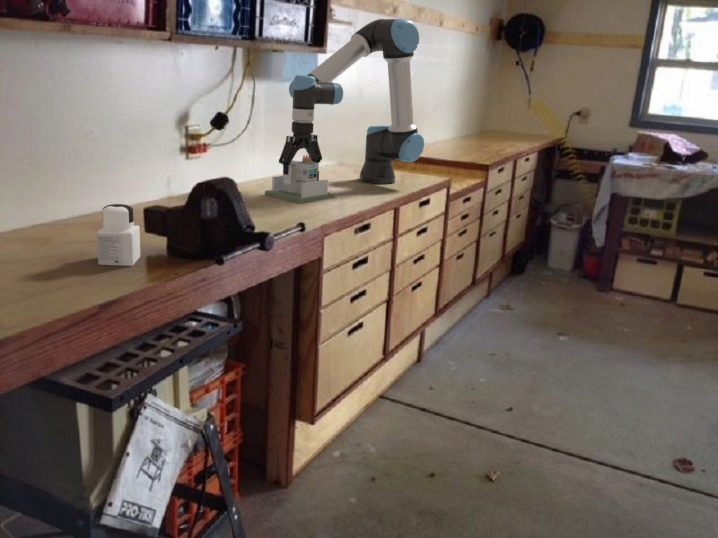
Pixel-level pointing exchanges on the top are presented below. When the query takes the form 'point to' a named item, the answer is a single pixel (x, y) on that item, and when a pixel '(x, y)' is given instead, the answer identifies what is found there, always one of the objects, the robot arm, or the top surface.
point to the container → (118, 237)
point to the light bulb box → (300, 175)
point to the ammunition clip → (308, 159)
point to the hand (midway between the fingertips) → (300, 181)
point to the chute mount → (308, 191)
